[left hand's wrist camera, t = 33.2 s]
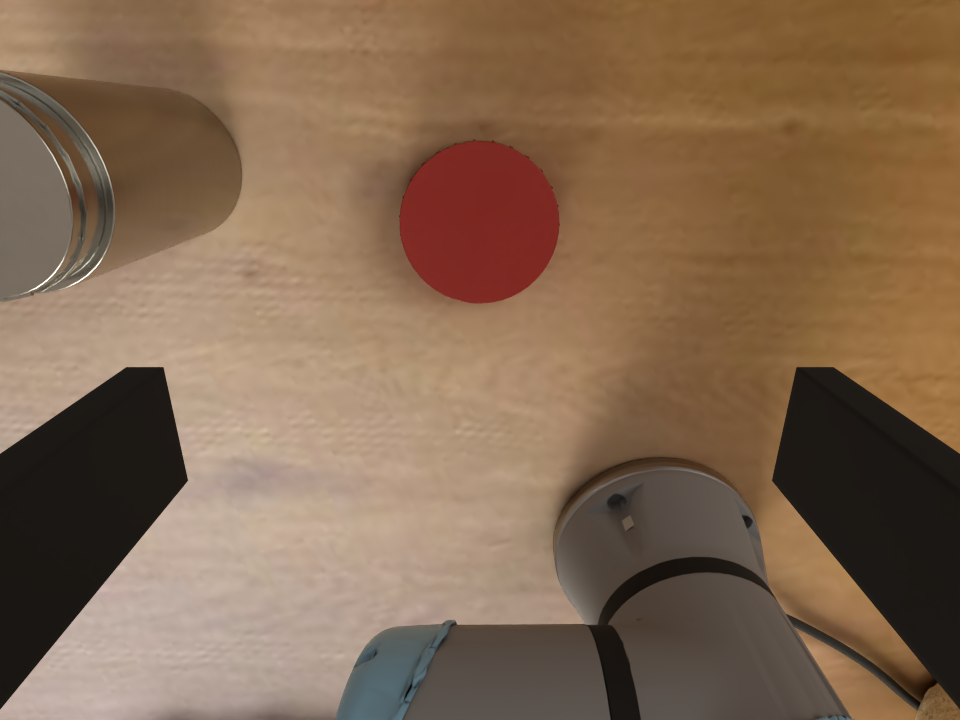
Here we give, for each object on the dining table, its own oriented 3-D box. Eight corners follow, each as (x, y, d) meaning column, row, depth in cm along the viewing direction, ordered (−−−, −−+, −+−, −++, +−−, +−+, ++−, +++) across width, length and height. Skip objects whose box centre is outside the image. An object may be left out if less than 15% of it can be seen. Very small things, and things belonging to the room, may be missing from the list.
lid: (482, 323, 39) (483, 334, 37) (371, 224, 37) (365, 230, 35) (587, 217, 37) (594, 222, 35) (475, 103, 34) (474, 102, 32)
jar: (72, 107, 34) (-223, 94, 20) (210, 72, 34) (7, 32, 19) (135, 249, 38) (-81, 328, 23) (262, 220, 37) (122, 282, 22)
